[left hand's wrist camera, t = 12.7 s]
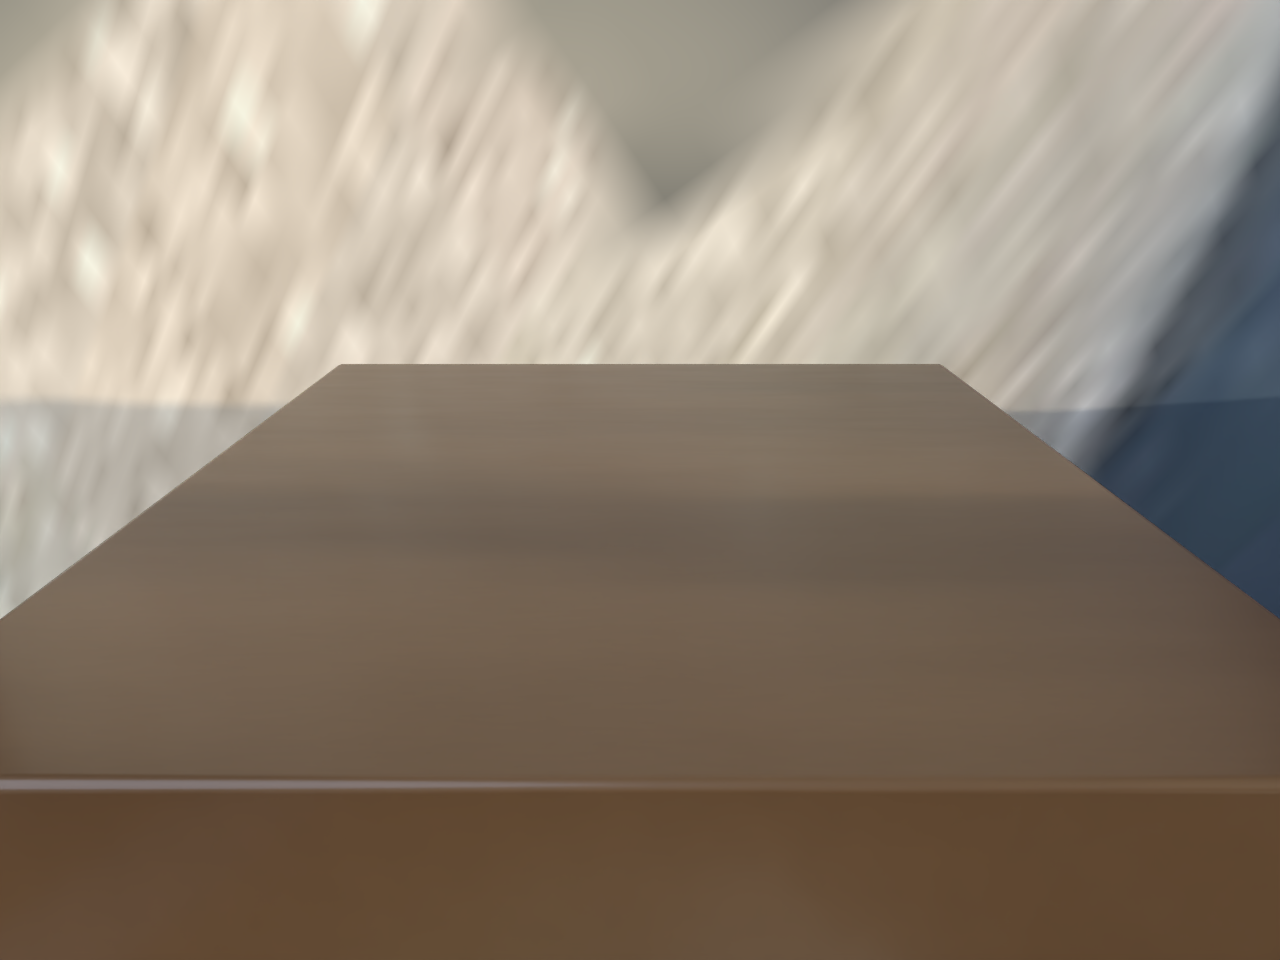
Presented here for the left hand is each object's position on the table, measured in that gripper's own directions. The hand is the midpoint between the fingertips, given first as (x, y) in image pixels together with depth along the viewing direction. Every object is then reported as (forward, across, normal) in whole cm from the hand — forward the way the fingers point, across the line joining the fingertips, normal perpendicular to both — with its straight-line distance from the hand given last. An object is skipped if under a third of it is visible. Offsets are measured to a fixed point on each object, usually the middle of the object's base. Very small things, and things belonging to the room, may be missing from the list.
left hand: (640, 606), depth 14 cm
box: (+1, 0, -10) cm, 10 cm away
